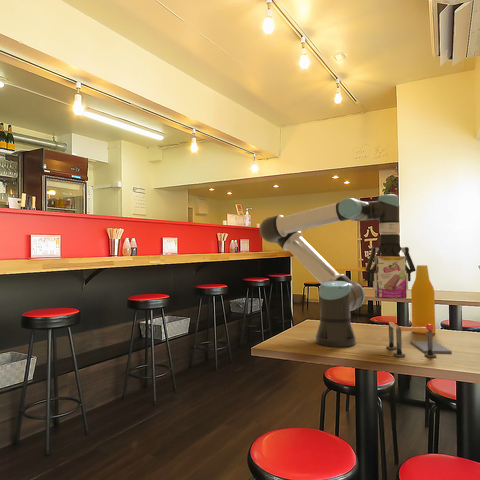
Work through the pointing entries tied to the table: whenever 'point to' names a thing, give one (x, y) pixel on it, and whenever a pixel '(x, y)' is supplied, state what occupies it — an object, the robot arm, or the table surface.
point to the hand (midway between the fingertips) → (390, 289)
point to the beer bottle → (422, 300)
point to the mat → (436, 347)
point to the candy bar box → (390, 277)
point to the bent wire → (399, 341)
